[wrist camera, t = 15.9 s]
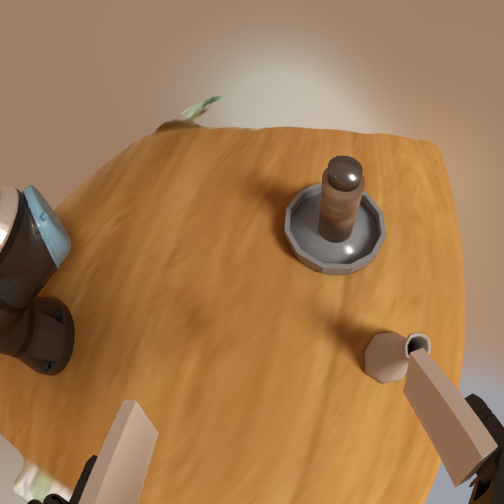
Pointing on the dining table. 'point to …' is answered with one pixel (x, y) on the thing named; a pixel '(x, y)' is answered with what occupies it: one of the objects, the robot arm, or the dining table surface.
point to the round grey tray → (327, 253)
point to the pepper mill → (340, 198)
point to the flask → (392, 355)
